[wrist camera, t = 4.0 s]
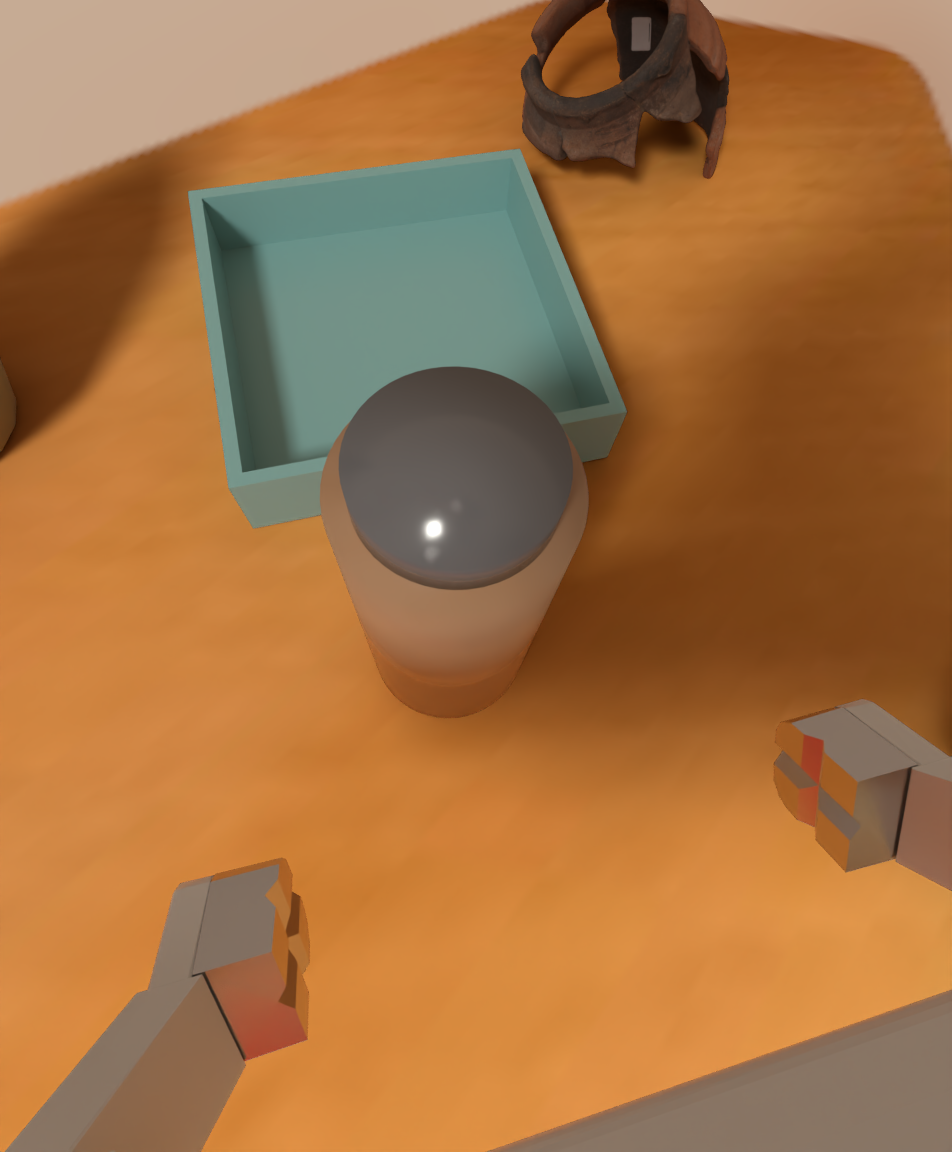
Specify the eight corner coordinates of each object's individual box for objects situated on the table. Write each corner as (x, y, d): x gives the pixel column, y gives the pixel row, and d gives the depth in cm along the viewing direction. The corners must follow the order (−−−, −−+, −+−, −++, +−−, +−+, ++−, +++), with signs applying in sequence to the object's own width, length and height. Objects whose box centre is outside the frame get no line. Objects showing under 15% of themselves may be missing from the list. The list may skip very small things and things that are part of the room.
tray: (253, 528, 24) (228, 488, 21) (212, 253, 29) (187, 191, 26) (607, 457, 26) (627, 411, 23) (512, 210, 31) (519, 148, 28)
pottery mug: (728, 231, 32) (709, 92, 24) (547, 263, 36) (485, 153, 29) (745, 17, 33) (732, -174, 26) (570, 71, 37) (515, -79, 30)
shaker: (391, 734, 21) (337, 629, 10) (361, 592, 23) (289, 370, 12) (540, 697, 22) (640, 559, 11) (500, 561, 24) (552, 326, 13)
